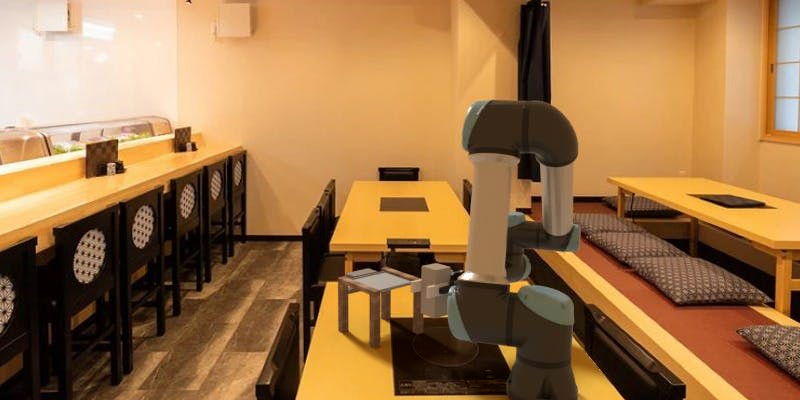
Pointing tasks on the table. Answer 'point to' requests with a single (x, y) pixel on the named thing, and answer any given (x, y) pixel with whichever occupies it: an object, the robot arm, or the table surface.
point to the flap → (378, 279)
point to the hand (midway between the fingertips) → (419, 289)
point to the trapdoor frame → (375, 305)
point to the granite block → (428, 278)
